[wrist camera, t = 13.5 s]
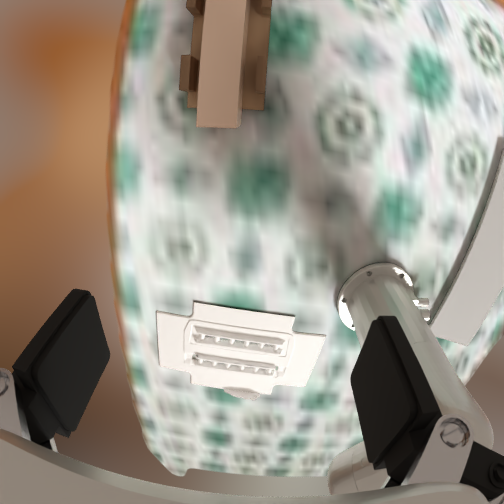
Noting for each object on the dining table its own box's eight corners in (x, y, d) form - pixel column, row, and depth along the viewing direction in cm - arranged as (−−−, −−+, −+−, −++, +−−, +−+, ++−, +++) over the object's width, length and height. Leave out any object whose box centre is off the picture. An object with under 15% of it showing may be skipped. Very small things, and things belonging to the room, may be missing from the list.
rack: (273, -19, 26) (274, -35, 21) (263, 110, 34) (263, 110, 29) (200, -20, 26) (191, -35, 21) (189, 107, 34) (178, 107, 29)
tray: (156, 291, 46) (150, 305, 43) (330, 312, 48) (335, 327, 45) (161, 374, 56) (158, 388, 52) (300, 389, 57) (302, 403, 54)
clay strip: (253, -35, 24) (251, -56, 18) (240, 125, 34) (236, 128, 28) (220, -35, 24) (213, -56, 18) (207, 124, 34) (196, 127, 28)
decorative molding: (423, 318, 50) (461, 331, 48) (426, 333, 46) (467, 346, 44) (493, 146, 35) (533, 170, 33) (505, 148, 31) (546, 175, 29)
